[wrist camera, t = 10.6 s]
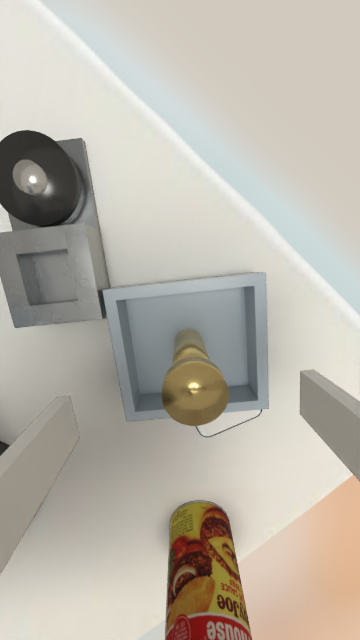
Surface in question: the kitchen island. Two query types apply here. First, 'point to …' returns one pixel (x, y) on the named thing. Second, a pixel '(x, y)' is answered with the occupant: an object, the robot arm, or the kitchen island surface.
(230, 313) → the tray
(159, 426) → the kitchen island surface
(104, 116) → the kitchen island surface
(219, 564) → the canned food
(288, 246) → the kitchen island surface
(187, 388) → the lock pin
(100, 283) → the tensioner
